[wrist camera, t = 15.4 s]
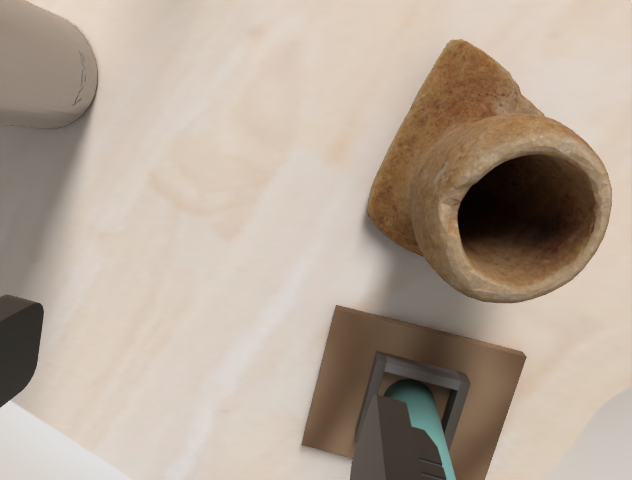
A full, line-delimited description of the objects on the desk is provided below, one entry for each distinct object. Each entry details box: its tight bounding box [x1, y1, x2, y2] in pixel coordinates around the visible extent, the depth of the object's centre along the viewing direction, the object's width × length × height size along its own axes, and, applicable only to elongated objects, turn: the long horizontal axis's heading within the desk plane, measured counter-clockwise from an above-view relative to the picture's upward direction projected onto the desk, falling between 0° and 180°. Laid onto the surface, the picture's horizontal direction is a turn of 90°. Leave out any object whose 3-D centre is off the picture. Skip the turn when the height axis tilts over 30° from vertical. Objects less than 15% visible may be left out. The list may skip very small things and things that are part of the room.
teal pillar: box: [384, 379, 456, 480], centre depth 34 cm, size 4×4×14 cm
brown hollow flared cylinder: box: [367, 40, 612, 303], centre depth 30 cm, size 15×12×15 cm
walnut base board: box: [302, 305, 526, 480], centre depth 40 cm, size 16×13×3 cm
